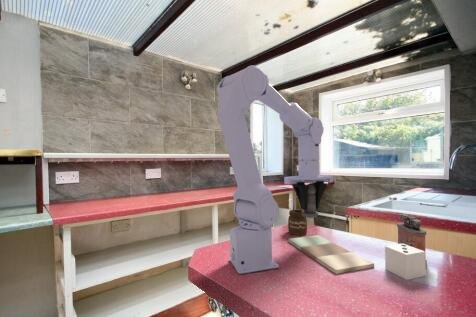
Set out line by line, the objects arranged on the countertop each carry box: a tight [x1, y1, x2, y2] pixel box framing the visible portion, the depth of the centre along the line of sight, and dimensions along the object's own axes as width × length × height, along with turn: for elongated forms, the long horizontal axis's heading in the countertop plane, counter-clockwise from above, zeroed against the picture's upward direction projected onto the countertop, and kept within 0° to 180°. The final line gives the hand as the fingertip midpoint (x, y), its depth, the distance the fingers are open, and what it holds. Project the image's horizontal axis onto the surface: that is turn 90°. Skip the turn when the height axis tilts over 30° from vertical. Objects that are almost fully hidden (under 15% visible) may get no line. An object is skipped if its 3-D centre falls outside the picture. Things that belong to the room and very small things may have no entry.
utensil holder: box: [287, 198, 308, 236], centre depth 80 cm, size 6×6×12 cm
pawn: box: [302, 183, 319, 219], centre depth 70 cm, size 4×4×9 cm
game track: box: [287, 234, 375, 275], centre depth 64 cm, size 10×21×1 cm, turn 16°
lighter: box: [396, 213, 427, 266], centre depth 59 cm, size 8×3×10 cm, turn 179°
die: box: [384, 243, 427, 281], centre depth 52 cm, size 5×5×5 cm
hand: (309, 208), depth 70 cm, fingers closed on pawn, 3 cm apart
